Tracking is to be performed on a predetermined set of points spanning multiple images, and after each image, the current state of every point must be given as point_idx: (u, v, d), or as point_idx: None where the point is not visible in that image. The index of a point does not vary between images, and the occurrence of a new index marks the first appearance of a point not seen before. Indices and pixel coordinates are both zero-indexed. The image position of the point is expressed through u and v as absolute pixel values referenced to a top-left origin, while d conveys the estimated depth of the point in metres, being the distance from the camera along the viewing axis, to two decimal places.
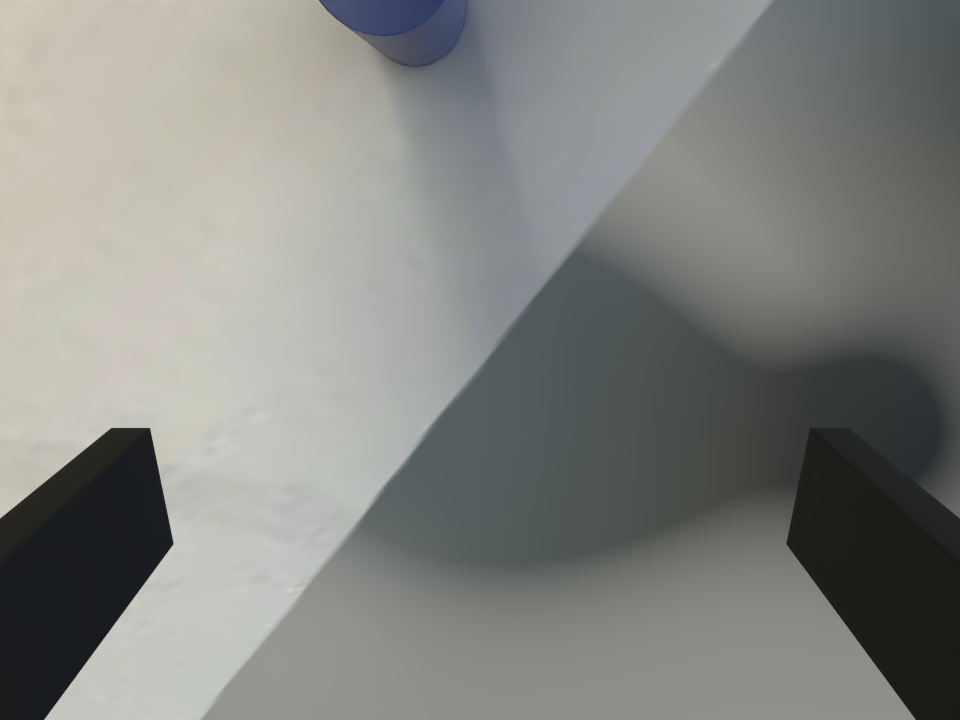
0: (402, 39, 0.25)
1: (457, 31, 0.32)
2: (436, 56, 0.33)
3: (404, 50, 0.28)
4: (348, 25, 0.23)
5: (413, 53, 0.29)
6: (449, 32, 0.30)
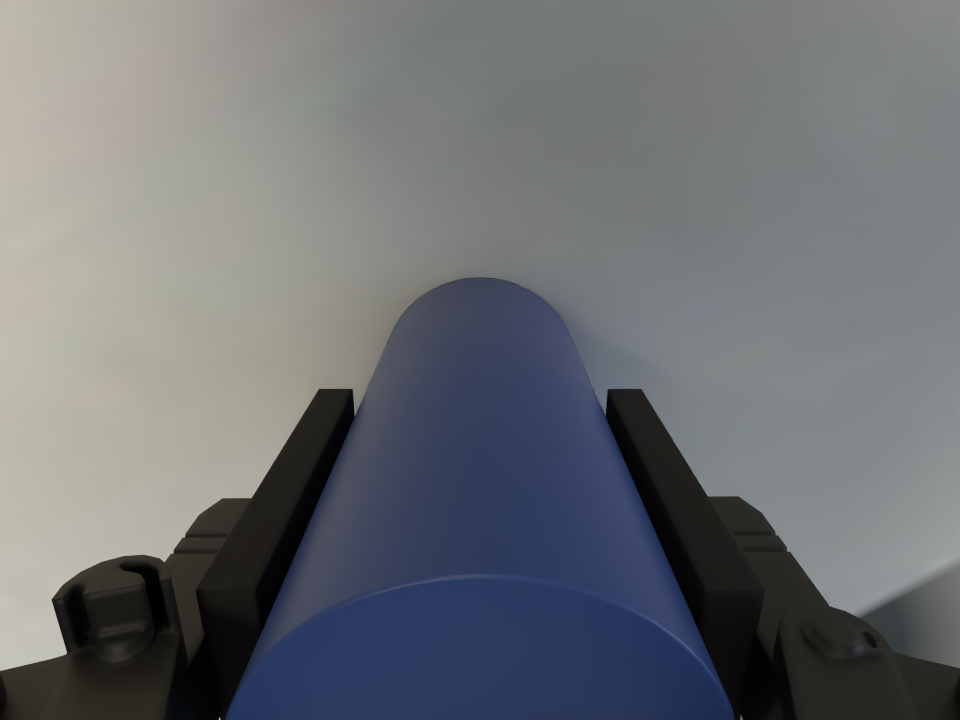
0: None
1: None
2: None
3: None
4: None
5: None
6: None
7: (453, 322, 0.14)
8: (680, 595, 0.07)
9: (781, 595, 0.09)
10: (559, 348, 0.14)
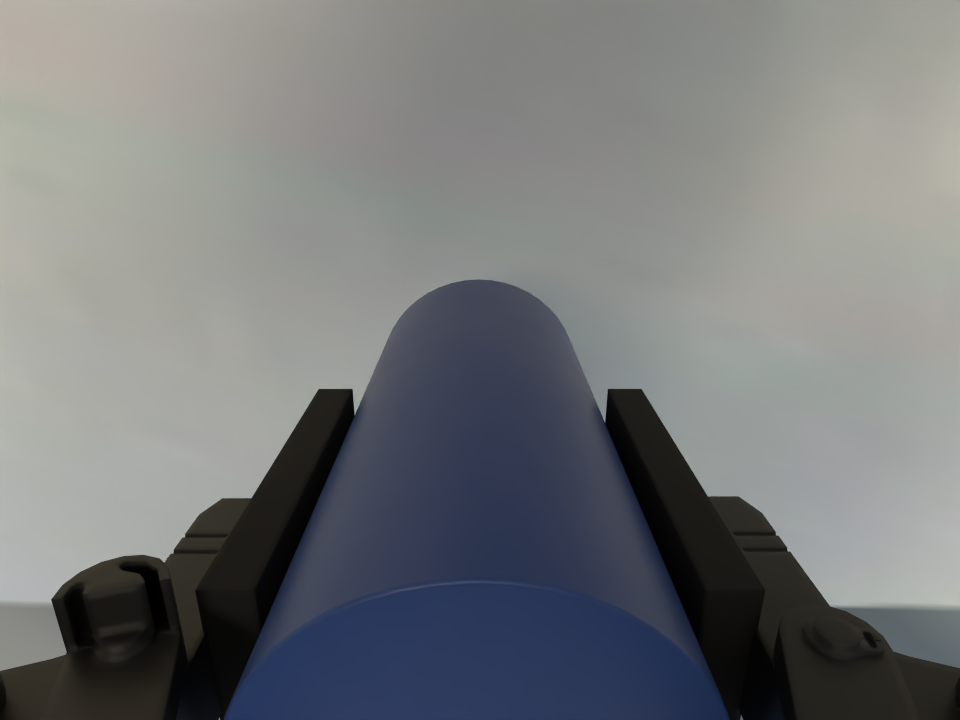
0: None
1: None
2: None
3: None
4: None
5: None
6: None
7: (451, 325, 0.14)
8: (676, 599, 0.08)
9: (781, 596, 0.09)
10: (557, 351, 0.14)
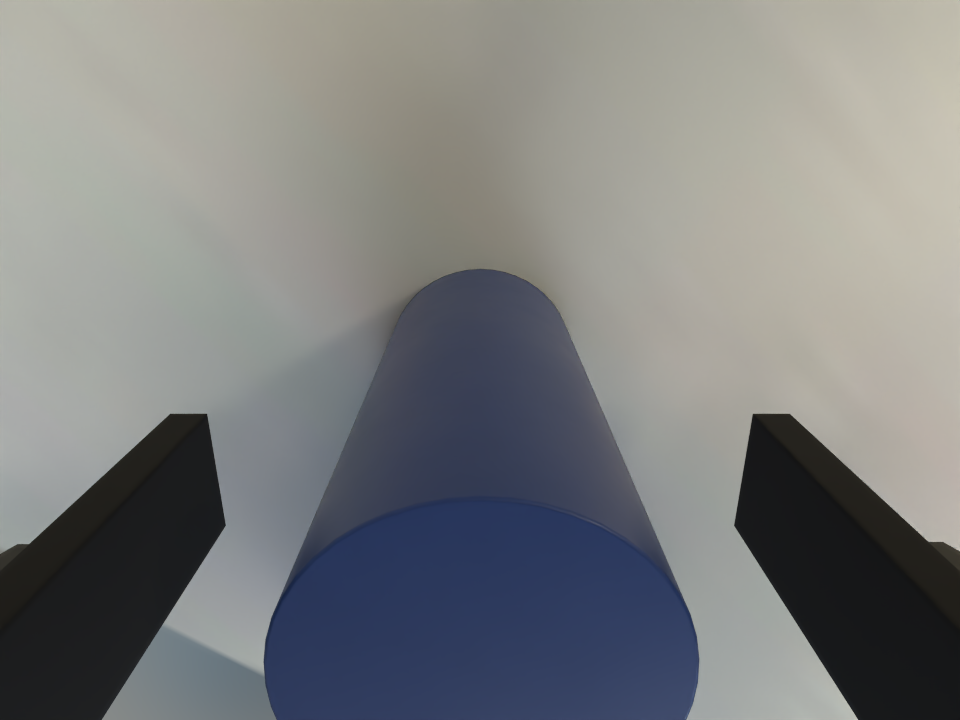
0: None
1: None
2: None
3: None
4: None
5: None
6: None
7: (456, 308, 0.15)
8: (651, 529, 0.09)
9: None
10: (553, 331, 0.15)
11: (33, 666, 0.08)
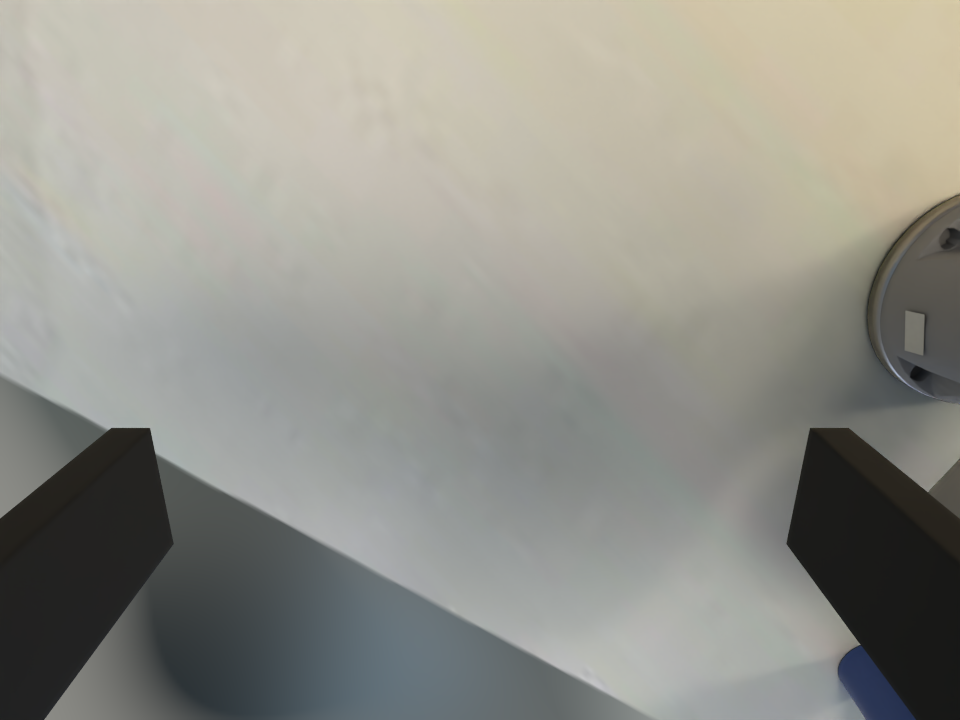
0: None
1: None
2: None
3: None
4: None
5: None
6: None
7: None
8: None
9: None
10: None
11: None
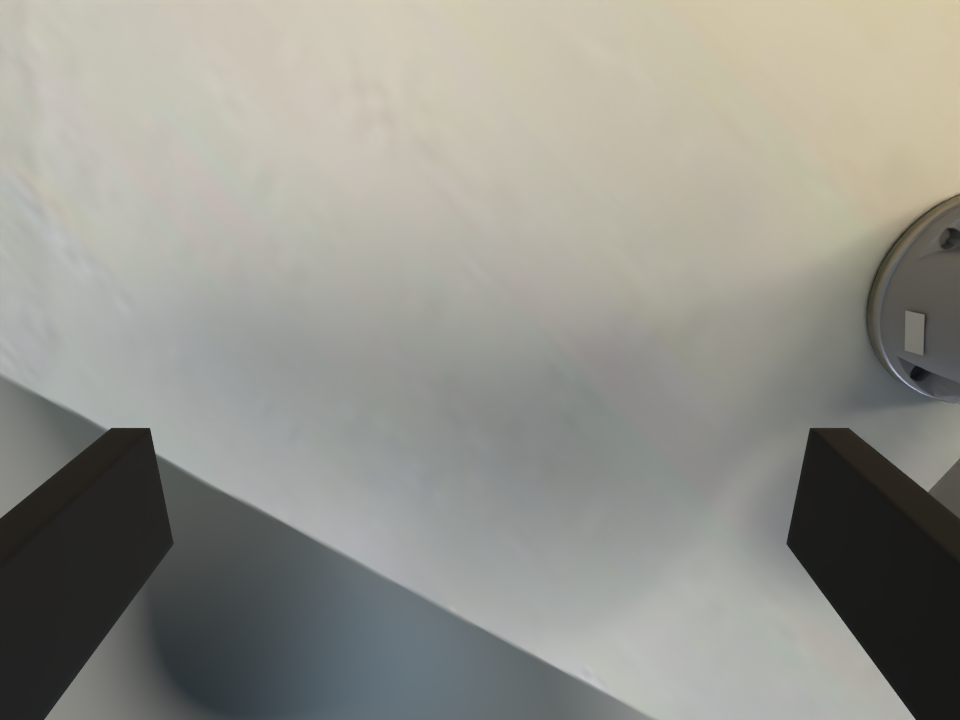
0: None
1: None
2: None
3: None
4: None
5: None
6: None
7: None
8: None
9: None
10: None
11: None
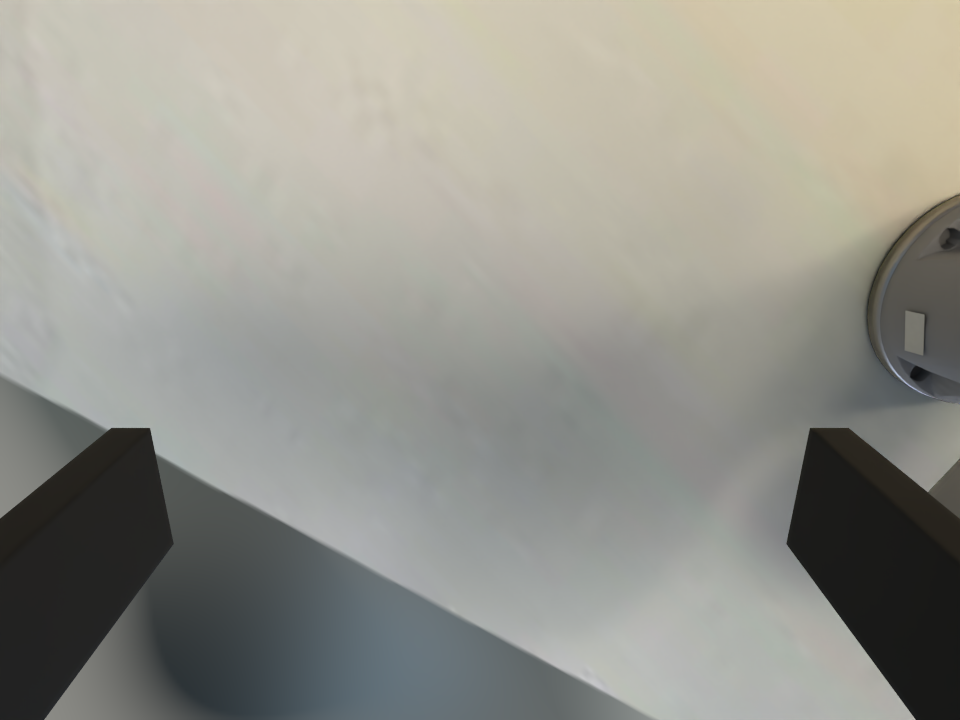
0: None
1: None
2: None
3: None
4: None
5: None
6: None
7: None
8: None
9: None
10: None
11: None
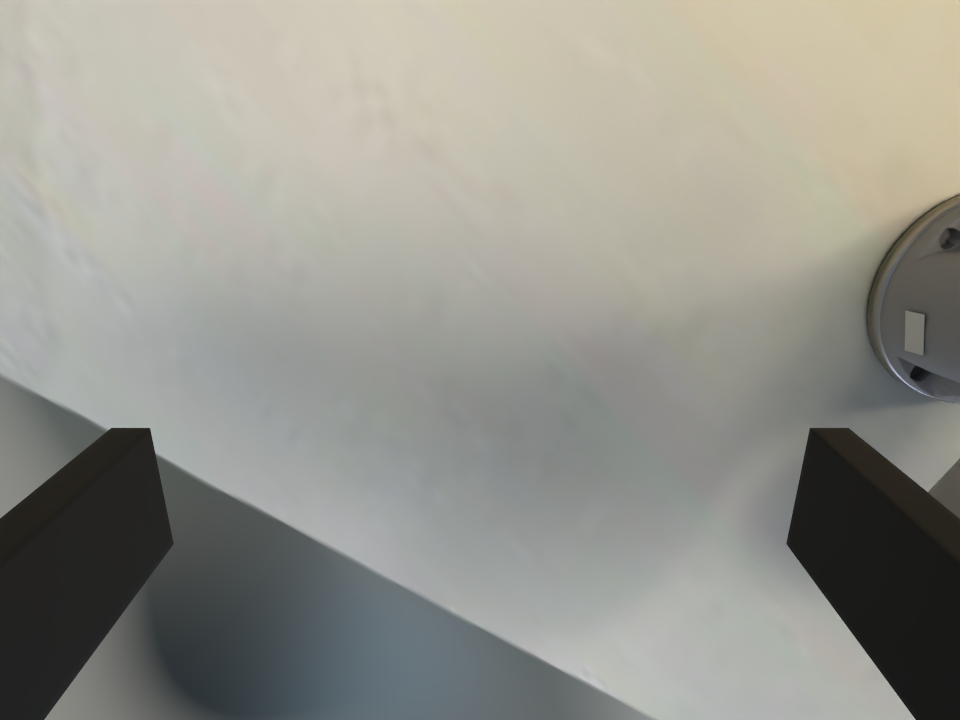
0: None
1: None
2: None
3: None
4: None
5: None
6: None
7: None
8: None
9: None
10: None
11: None
